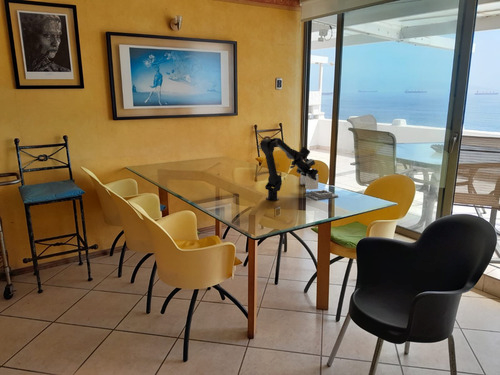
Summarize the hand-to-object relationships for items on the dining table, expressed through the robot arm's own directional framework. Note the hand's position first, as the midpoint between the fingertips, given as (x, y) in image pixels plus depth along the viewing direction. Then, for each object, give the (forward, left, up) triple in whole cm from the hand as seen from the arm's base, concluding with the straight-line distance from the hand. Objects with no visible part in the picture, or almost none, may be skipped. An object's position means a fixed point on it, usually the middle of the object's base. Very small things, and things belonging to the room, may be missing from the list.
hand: (313, 179), depth 258 cm
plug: (0, -1, -7) cm, 7 cm away
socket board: (+13, -2, -9) cm, 16 cm away
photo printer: (-20, +9, -9) cm, 24 cm away
